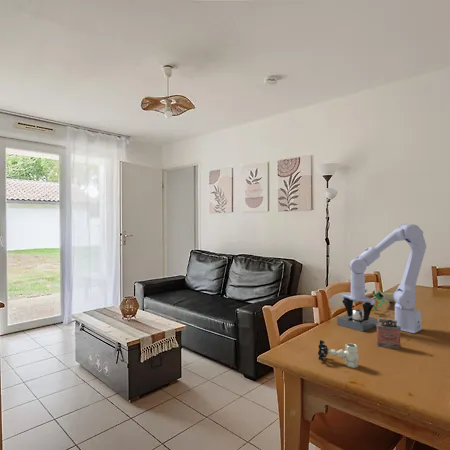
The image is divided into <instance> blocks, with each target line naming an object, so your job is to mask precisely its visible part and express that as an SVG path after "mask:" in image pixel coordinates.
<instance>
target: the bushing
mask: <svg viewBox="0 0 450 450" xmlns="http://www.w3.org/2000/svg"><path fill="white" fill-rule="evenodd" d="M363 316H364V310H363V309H359V308H352V320H353V321H357V322H363Z"/></svg>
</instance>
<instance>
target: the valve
mask: <svg viewBox="0 0 450 450" xmlns="http://www.w3.org/2000/svg"><path fill="white" fill-rule="evenodd" d="M325 343H326V342H325V340H321V339H320V340H319V344H318V352H317V355H318V360H319V361H324V359H325V358H326V357H327V356H328V355H329V354H330V355H331V356H334V357H335V356H338V358H339V359H342V360H343V359H345V361H344V362H345V366H346V367H348V368H353V369H355V368H358V367H359V361H358V360H359V358H360V356H359V346H358V345H357V344H355V343H354V342H353V343H351V342H349V343H345V344H344V347H345V348H344V349H343V348H339V350H336V349H334V348H333V349H332V348H331V349H329V348H328V346H327V345H326V344H325Z"/></svg>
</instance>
